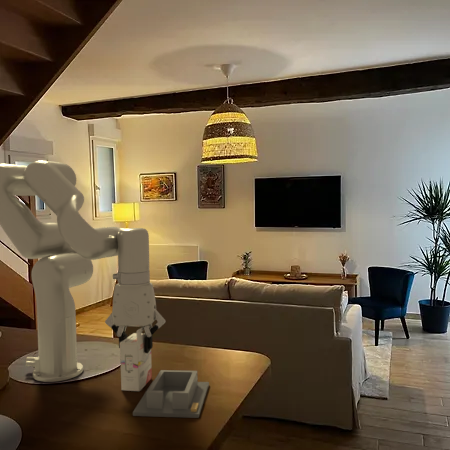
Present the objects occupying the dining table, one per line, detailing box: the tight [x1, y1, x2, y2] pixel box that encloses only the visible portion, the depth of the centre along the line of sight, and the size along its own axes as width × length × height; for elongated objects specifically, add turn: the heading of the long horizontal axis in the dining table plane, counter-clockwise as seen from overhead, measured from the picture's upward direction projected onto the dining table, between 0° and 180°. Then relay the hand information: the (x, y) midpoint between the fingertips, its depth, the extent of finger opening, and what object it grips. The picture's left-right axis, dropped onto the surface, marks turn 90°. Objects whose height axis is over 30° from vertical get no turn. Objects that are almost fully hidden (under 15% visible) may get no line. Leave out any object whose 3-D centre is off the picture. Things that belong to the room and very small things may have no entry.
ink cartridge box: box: [119, 326, 153, 392], centre depth 112 cm, size 9×5×15 cm, turn 168°
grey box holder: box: [132, 369, 210, 419], centre depth 103 cm, size 14×17×4 cm
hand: (135, 350), depth 112 cm, fingers closed on ink cartridge box, 5 cm apart
